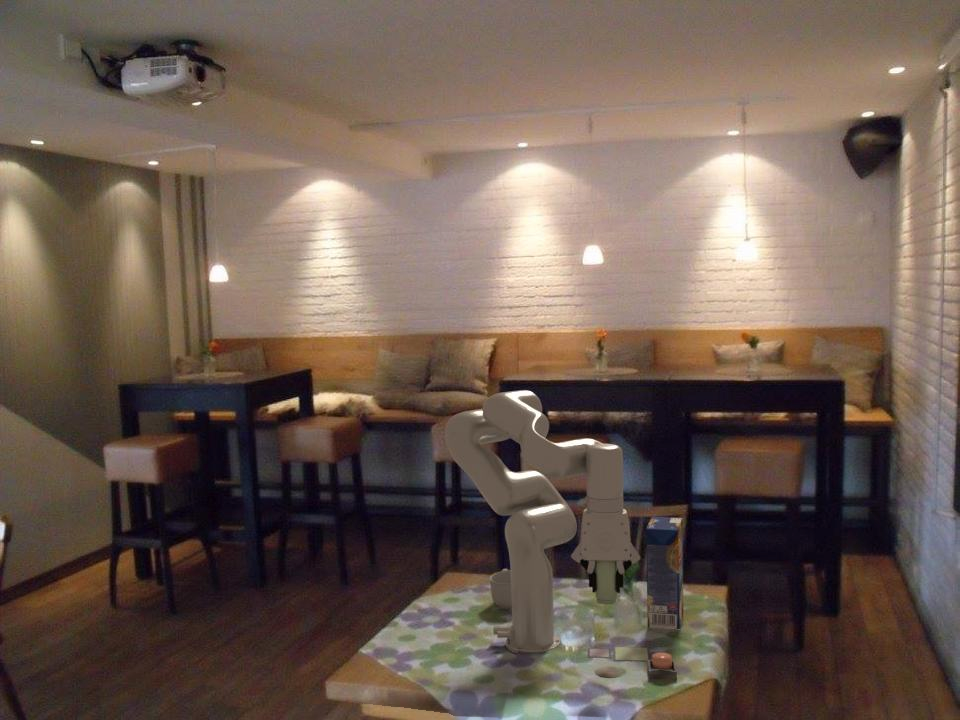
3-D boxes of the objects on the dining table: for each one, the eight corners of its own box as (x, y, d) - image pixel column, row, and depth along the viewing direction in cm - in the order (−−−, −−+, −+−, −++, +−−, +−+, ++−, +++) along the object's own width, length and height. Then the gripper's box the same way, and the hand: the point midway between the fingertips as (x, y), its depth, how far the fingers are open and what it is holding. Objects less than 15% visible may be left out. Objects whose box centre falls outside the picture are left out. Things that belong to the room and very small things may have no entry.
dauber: (595, 604, 188) (594, 551, 187) (595, 597, 192) (595, 545, 191) (617, 605, 187) (616, 551, 186) (616, 597, 192) (616, 545, 191)
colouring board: (579, 686, 187) (579, 673, 186) (581, 648, 206) (581, 636, 206) (679, 689, 184) (678, 676, 184) (671, 650, 204) (671, 638, 203)
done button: (652, 669, 187) (652, 660, 187) (651, 661, 191) (651, 652, 191) (672, 670, 187) (672, 660, 187) (671, 662, 191) (671, 652, 191)
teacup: (533, 612, 231) (532, 581, 230) (490, 613, 231) (489, 582, 230) (530, 594, 244) (530, 565, 244) (490, 595, 245) (489, 566, 244)
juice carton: (679, 630, 216) (678, 530, 214) (647, 627, 218) (645, 528, 216) (683, 612, 227) (682, 517, 225) (653, 610, 229) (651, 516, 227)
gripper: (563, 508, 185) (564, 595, 187) (647, 509, 183) (648, 597, 185) (564, 499, 193) (566, 584, 194) (645, 500, 191) (646, 585, 192)
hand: (606, 589), depth 190 cm, fingers closed on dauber, 4 cm apart
